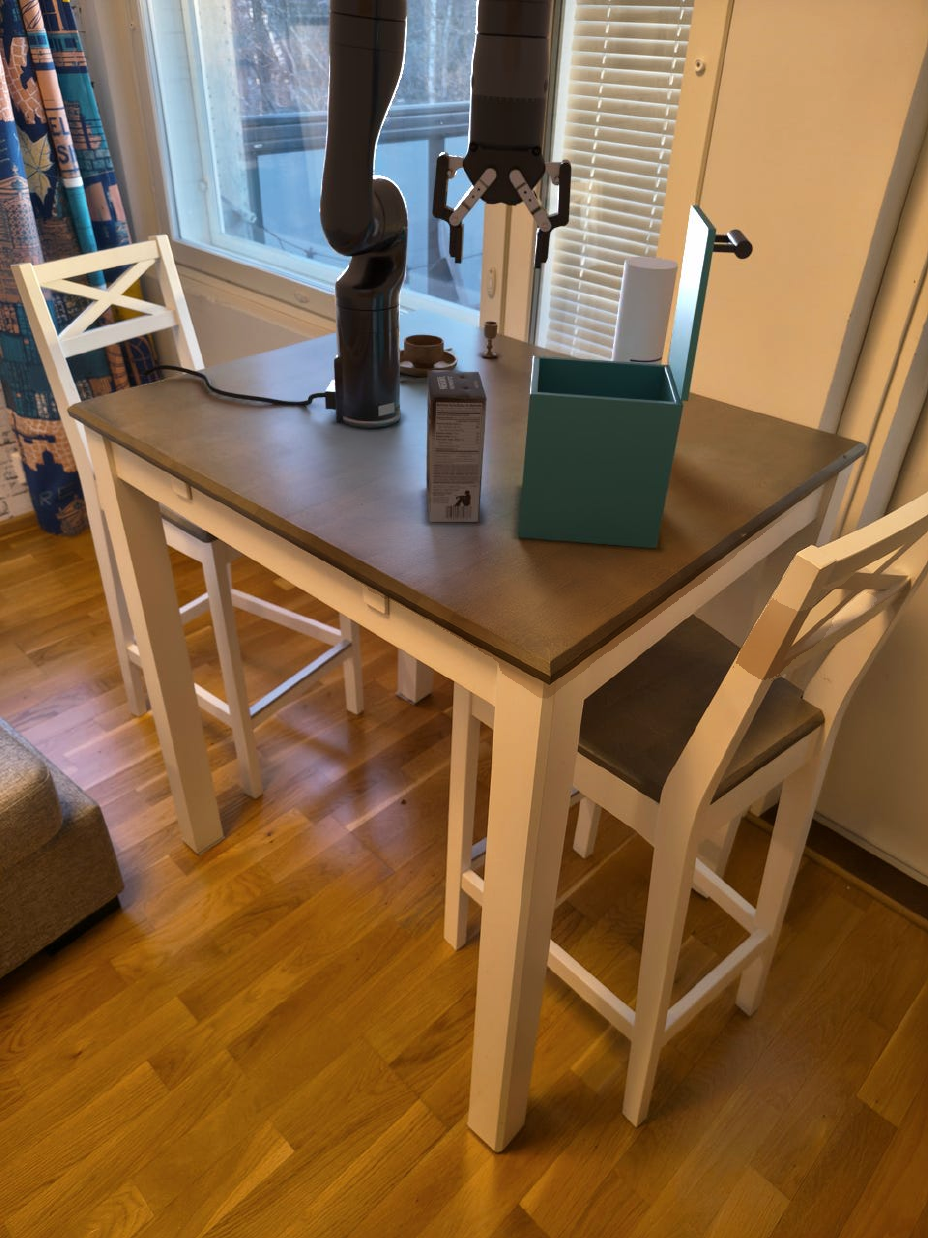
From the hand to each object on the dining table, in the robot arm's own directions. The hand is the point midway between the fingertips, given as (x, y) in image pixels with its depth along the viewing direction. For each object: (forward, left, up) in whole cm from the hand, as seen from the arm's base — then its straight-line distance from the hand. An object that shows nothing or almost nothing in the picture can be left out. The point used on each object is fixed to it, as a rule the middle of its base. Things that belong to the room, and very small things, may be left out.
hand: (497, 264), depth 96 cm
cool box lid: (+21, 0, -3) cm, 21 cm away
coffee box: (-4, 0, -30) cm, 30 cm away
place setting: (-11, +53, -30) cm, 62 cm away
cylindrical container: (+20, +27, -30) cm, 45 cm away
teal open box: (+13, 0, -29) cm, 32 cm away
